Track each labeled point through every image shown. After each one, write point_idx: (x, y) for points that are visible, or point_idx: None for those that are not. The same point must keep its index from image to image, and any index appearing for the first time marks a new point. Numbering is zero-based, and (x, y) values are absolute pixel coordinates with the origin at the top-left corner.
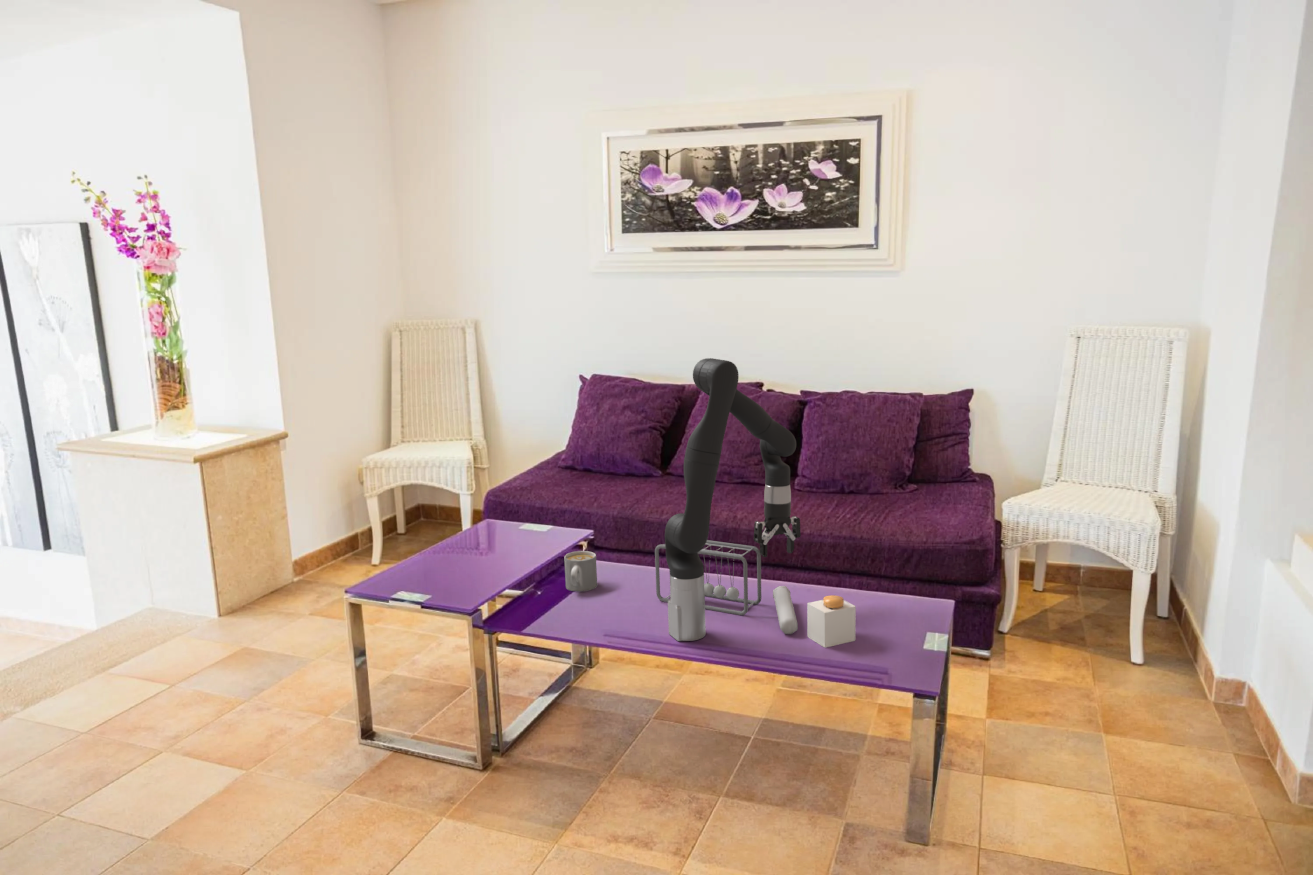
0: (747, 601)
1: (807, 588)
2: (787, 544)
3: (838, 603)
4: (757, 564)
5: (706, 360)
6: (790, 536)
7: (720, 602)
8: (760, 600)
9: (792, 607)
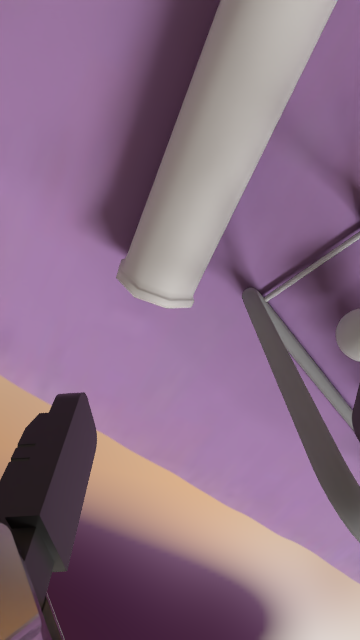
0: None
1: (3, 356)
2: (77, 498)
3: None
4: (313, 403)
5: None
6: (18, 607)
7: None
8: (247, 288)
9: (223, 24)
